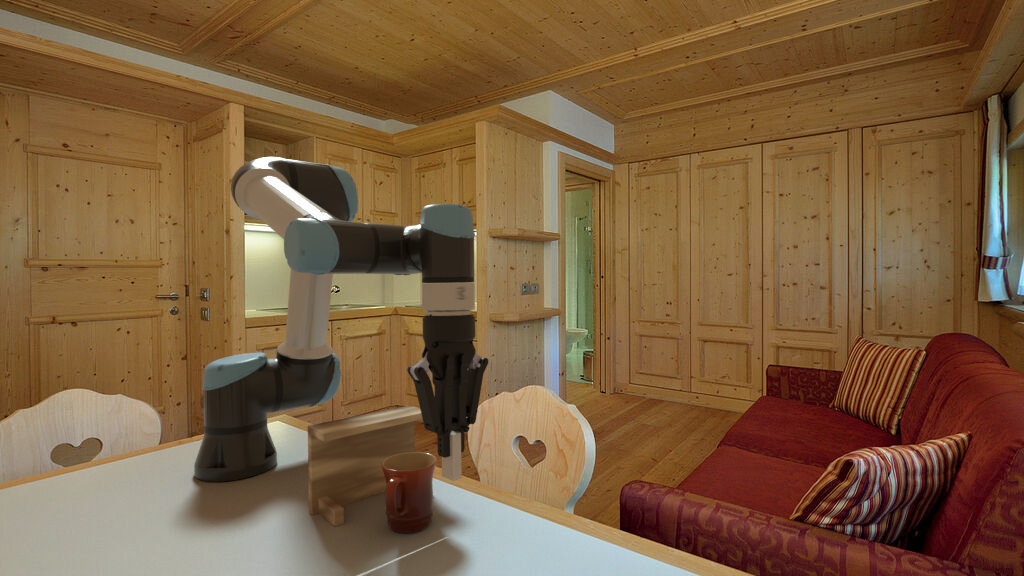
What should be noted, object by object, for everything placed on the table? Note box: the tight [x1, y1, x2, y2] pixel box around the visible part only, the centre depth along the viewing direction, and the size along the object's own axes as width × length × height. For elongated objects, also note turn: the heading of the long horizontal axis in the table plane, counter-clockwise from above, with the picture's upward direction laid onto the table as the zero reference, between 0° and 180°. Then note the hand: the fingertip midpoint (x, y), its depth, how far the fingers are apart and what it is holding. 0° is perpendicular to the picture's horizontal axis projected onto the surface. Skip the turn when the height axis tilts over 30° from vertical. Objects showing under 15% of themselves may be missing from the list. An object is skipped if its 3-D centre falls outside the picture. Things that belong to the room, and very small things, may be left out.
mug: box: [381, 451, 438, 534], centre depth 80 cm, size 12×9×10 cm
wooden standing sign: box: [307, 405, 423, 527], centre depth 90 cm, size 8×20×15 cm, turn 133°
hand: (451, 477), depth 74 cm, fingers closed
